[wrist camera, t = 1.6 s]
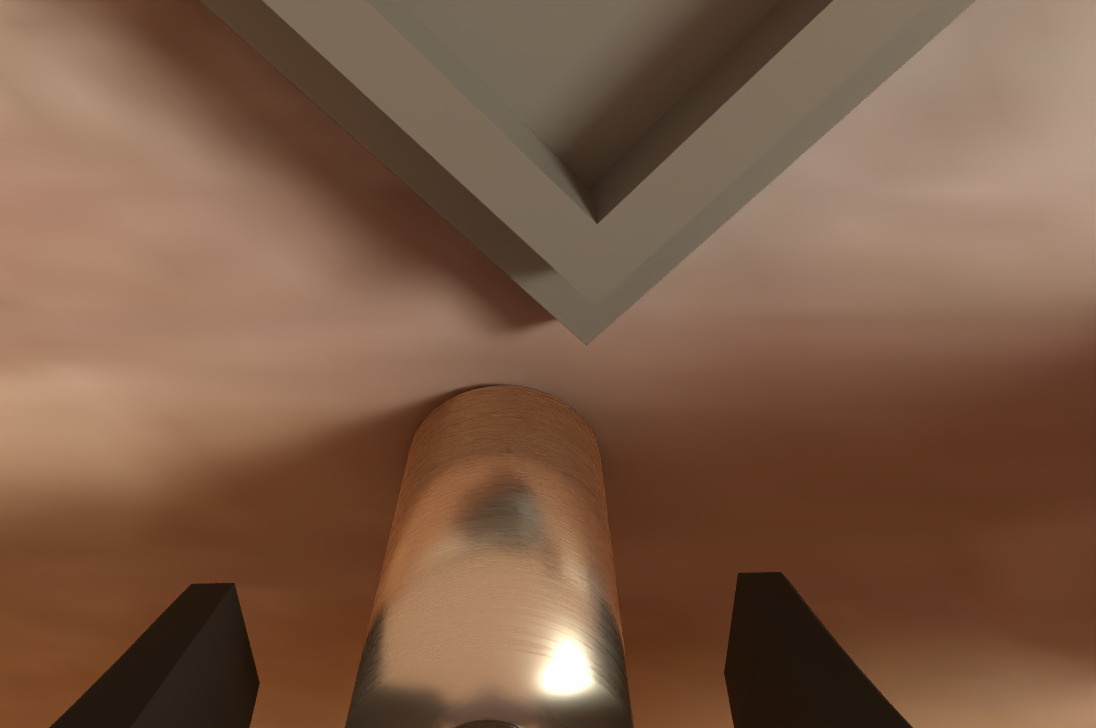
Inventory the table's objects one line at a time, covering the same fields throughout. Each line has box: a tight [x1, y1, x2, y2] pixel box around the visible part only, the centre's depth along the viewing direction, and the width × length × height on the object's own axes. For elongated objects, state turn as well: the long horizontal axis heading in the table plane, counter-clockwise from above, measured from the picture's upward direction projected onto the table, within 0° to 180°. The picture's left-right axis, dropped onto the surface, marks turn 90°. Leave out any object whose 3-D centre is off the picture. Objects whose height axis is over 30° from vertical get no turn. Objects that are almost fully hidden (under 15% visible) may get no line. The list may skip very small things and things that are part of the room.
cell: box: [345, 386, 634, 728], centre depth 13 cm, size 4×4×6 cm
